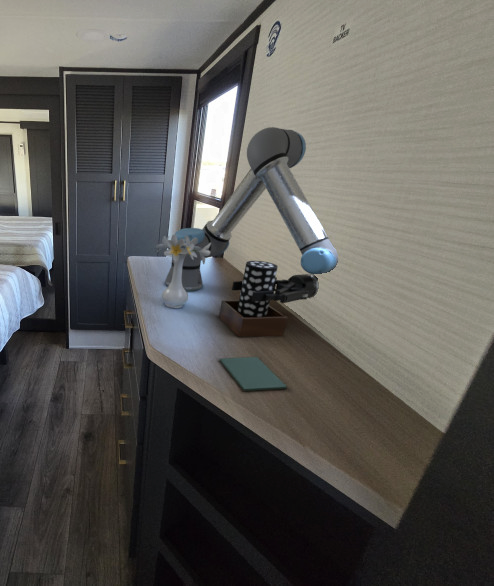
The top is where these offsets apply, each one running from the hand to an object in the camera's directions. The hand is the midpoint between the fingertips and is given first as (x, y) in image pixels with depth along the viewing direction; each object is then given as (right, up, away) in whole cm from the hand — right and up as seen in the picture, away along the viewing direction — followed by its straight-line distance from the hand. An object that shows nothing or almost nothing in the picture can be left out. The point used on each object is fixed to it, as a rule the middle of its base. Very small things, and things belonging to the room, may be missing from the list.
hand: (242, 291), depth 92 cm
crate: (+4, -11, +5) cm, 13 cm away
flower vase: (-15, -5, +20) cm, 26 cm away
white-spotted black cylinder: (+4, -11, +5) cm, 13 cm away
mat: (-6, -20, -18) cm, 28 cm away
